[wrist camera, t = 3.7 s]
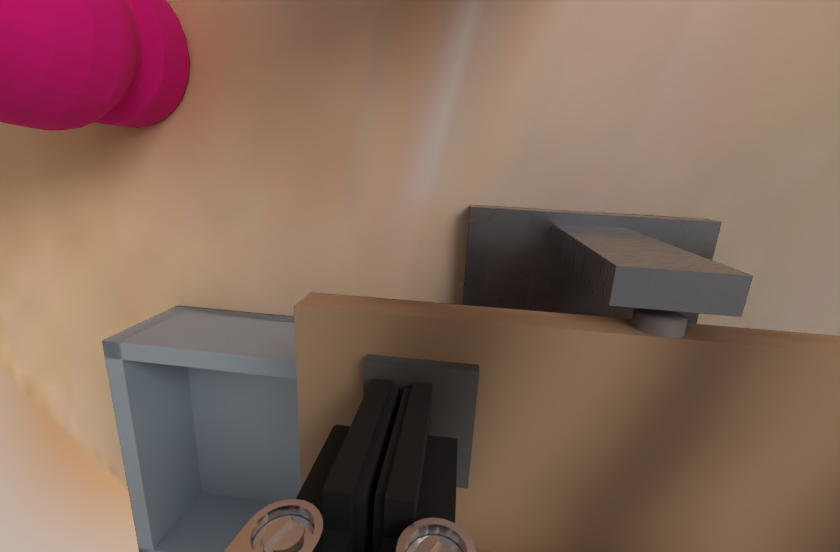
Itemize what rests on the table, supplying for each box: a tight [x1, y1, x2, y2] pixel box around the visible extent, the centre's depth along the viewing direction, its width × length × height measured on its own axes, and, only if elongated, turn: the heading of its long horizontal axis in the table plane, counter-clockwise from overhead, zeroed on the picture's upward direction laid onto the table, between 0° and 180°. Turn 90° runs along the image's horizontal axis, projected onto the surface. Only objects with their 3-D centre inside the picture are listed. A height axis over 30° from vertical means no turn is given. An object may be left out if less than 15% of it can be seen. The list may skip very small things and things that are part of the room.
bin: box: [102, 306, 301, 552], centre depth 20 cm, size 13×12×4 cm
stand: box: [462, 205, 753, 324], centre depth 16 cm, size 10×18×9 cm, turn 177°
